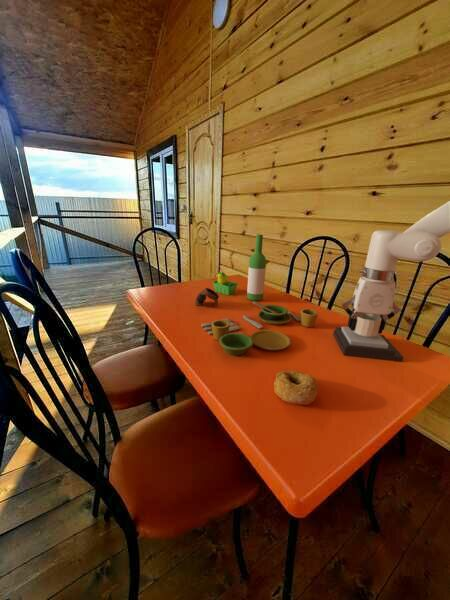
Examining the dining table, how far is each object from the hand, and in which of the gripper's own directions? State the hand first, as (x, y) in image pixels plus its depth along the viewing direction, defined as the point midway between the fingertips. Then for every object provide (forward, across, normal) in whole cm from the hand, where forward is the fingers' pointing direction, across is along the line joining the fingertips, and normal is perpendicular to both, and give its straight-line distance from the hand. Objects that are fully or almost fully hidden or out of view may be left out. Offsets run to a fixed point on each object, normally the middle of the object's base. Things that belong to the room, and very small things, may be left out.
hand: (364, 329), depth 79 cm
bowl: (+1, 0, 0) cm, 1 cm away
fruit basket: (+6, -52, +44) cm, 68 cm away
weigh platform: (+3, 0, 0) cm, 3 cm away
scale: (+6, +1, 0) cm, 6 cm away
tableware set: (+6, -31, +4) cm, 31 cm away
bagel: (+6, -23, -27) cm, 36 cm away
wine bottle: (+6, -36, +38) cm, 53 cm away
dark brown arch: (+6, -57, +24) cm, 62 cm away
